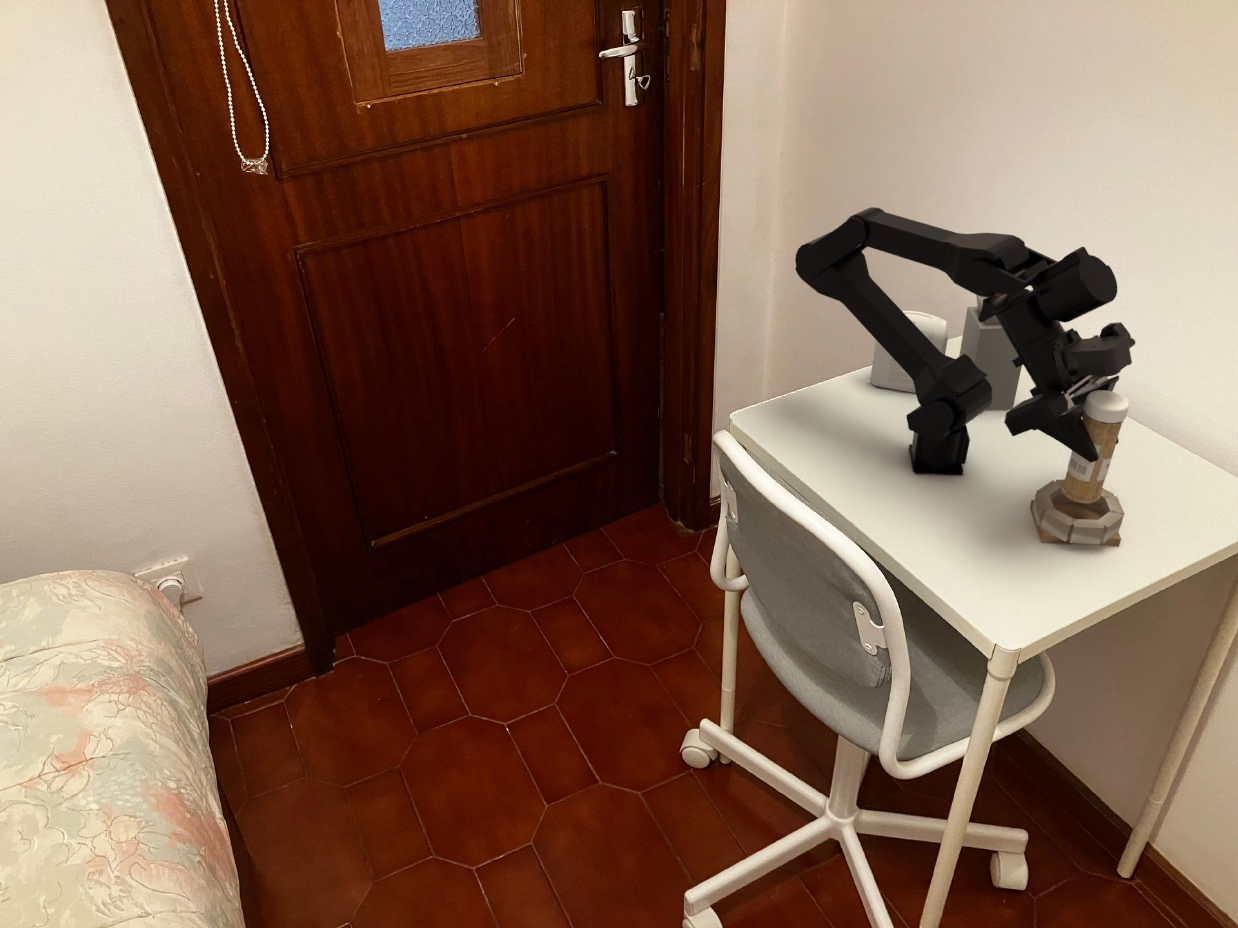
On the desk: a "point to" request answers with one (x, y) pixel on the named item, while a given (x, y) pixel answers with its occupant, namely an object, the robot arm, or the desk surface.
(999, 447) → the desk surface
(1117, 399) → the sprinkles bottle
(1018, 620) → the desk surface
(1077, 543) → the octagonal open basket
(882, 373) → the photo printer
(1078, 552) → the desk surface
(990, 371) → the perfume bottle
